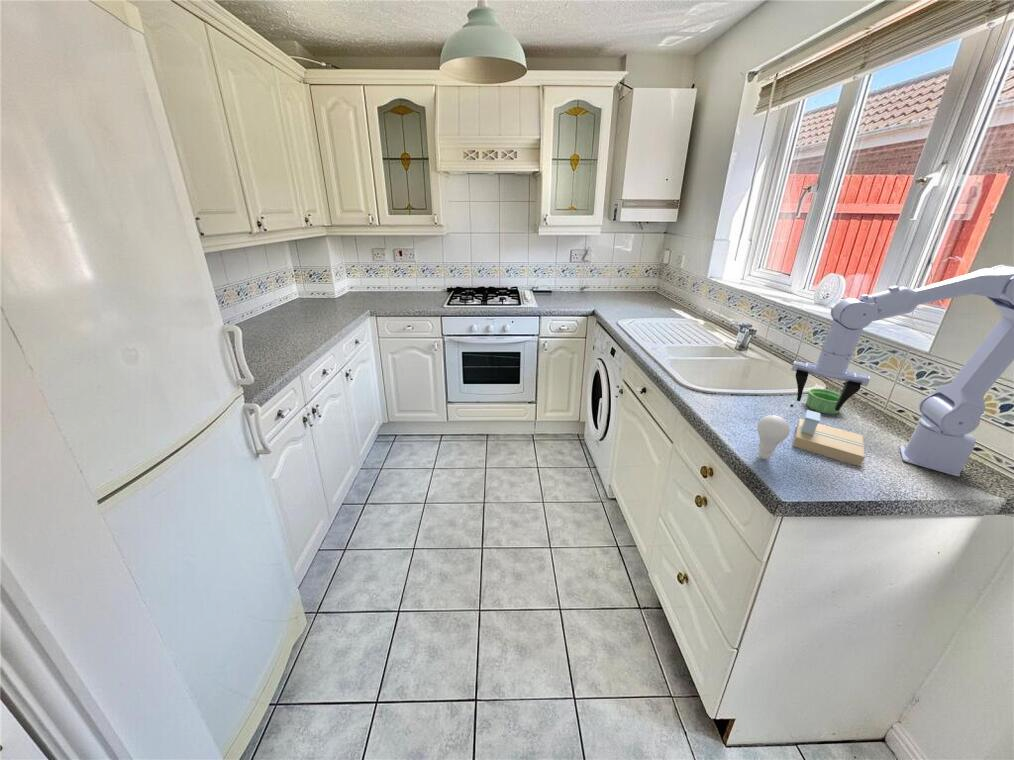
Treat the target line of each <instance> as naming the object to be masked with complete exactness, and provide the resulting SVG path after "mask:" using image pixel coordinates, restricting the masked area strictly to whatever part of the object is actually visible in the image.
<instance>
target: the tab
mask: <svg viewBox="0 0 1014 760" xmlns="http://www.w3.org/2000/svg"><path fill="white" fill-rule="evenodd" d="M803 420H804V422H803V424H802V430H801V432H803V433H806V434H810V435H814V432H815V430H816V427H817V424H820V421H821V412H818V411H815V410H809V409H806V412H805V417H804V418H803Z"/></svg>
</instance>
